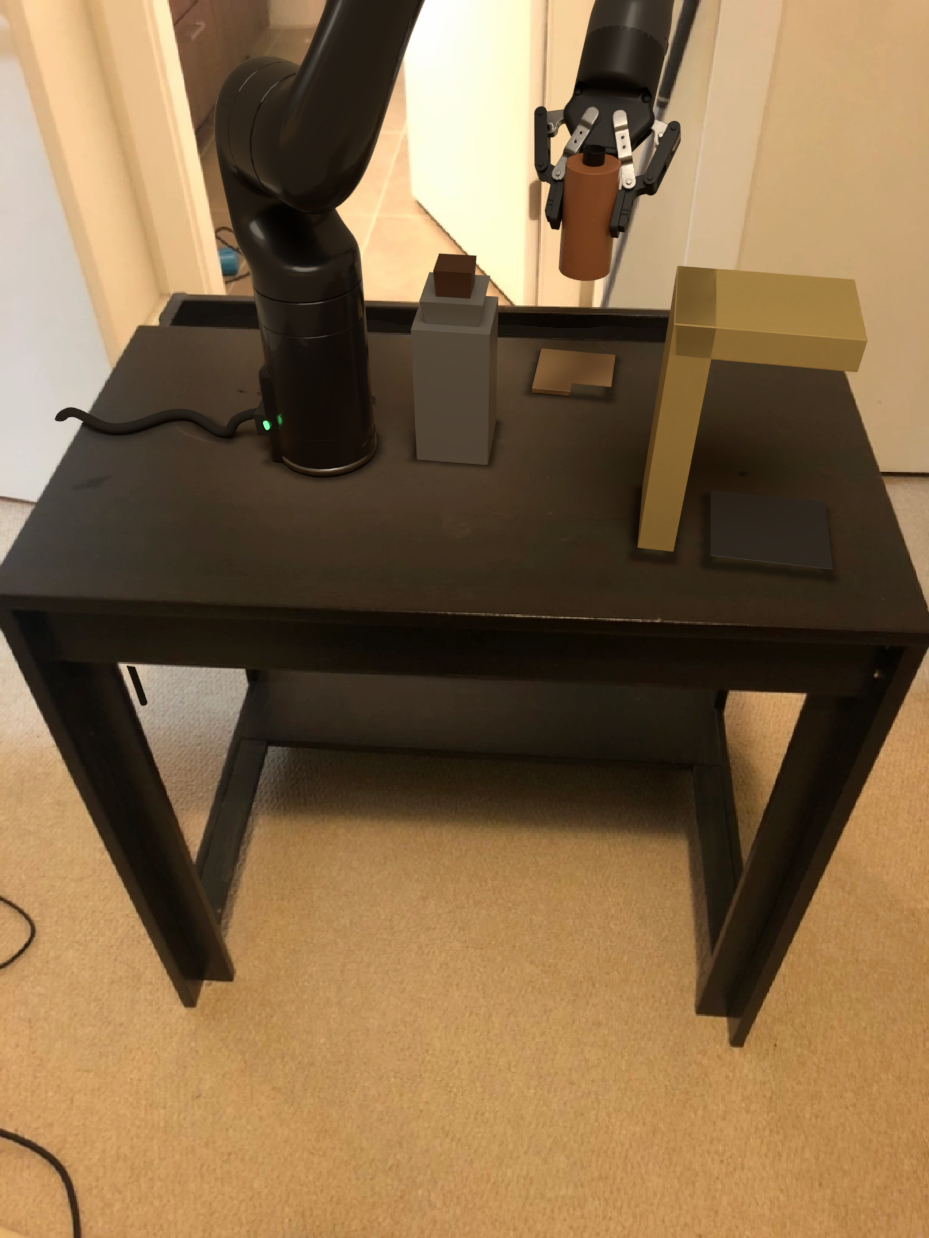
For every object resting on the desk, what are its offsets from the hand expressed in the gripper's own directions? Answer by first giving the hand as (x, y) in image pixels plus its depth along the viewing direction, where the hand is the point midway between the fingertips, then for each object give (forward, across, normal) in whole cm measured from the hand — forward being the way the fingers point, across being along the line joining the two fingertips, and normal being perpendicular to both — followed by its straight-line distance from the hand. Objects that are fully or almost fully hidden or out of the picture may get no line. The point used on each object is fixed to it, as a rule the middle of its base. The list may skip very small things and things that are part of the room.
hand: (584, 230), depth 91 cm
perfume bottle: (+21, -8, +2) cm, 23 cm away
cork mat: (+10, 0, +13) cm, 16 cm away
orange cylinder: (+2, 0, +5) cm, 5 cm away
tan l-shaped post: (+25, +19, -2) cm, 31 cm away
